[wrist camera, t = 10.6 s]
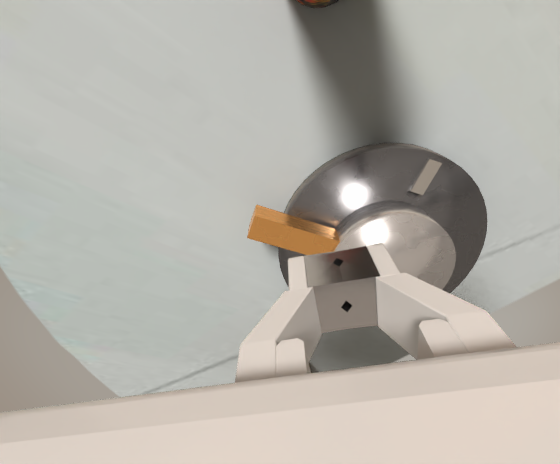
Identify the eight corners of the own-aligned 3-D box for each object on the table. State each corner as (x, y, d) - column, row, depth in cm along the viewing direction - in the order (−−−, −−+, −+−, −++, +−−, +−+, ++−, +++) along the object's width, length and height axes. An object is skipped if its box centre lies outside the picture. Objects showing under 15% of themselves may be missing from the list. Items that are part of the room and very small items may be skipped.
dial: (463, 221, 27) (485, 240, 24) (401, 306, 33) (414, 330, 30) (272, 156, 24) (271, 169, 21) (237, 261, 29) (232, 283, 26)
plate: (519, 182, 28) (537, 191, 26) (408, 327, 37) (416, 342, 35) (322, 109, 25) (326, 113, 23) (255, 288, 34) (253, 302, 32)
